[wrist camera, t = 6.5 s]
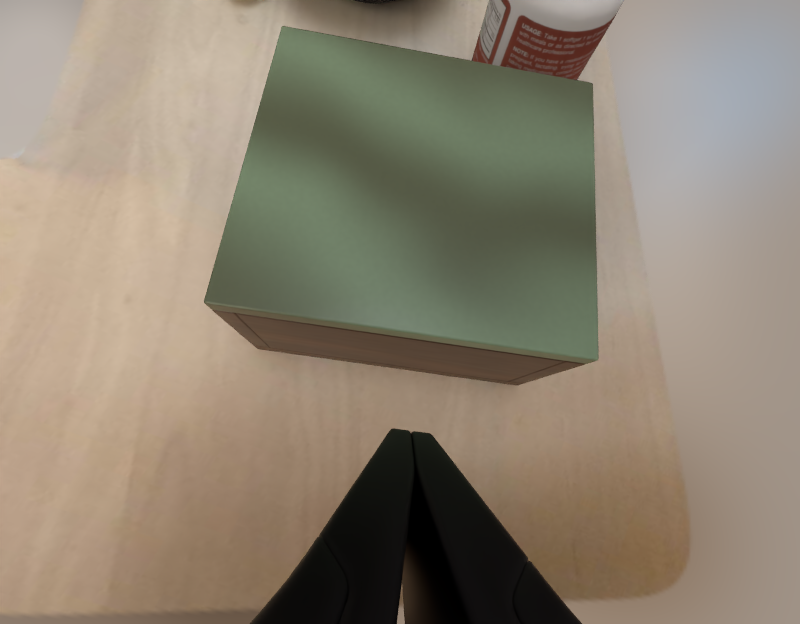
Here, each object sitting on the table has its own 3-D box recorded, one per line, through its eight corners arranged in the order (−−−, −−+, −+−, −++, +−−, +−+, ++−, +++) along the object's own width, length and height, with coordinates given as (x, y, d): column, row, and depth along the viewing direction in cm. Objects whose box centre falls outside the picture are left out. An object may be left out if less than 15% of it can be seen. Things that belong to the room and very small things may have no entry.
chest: (301, 157, 24) (280, 55, 18) (525, 194, 25) (584, 110, 18) (257, 348, 21) (211, 310, 14) (518, 385, 22) (586, 364, 15)
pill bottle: (572, 111, 27) (708, -96, 17) (509, 159, 26) (614, -35, 15) (506, 51, 28) (595, -181, 18) (441, 93, 27) (496, -132, 16)
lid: (284, 42, 18) (281, 24, 17) (584, 96, 19) (593, 82, 18) (210, 309, 14) (202, 302, 14) (587, 364, 15) (599, 360, 14)
